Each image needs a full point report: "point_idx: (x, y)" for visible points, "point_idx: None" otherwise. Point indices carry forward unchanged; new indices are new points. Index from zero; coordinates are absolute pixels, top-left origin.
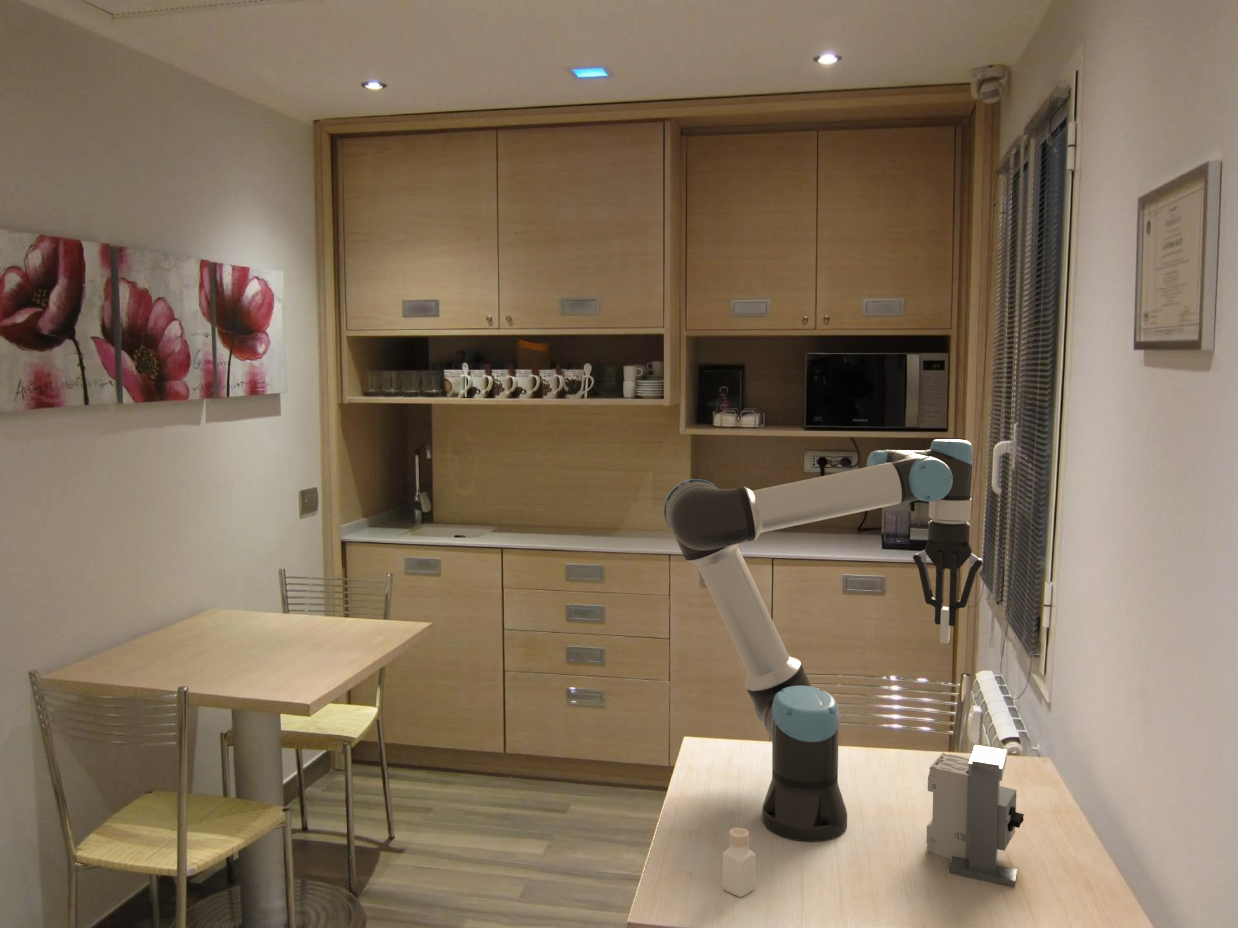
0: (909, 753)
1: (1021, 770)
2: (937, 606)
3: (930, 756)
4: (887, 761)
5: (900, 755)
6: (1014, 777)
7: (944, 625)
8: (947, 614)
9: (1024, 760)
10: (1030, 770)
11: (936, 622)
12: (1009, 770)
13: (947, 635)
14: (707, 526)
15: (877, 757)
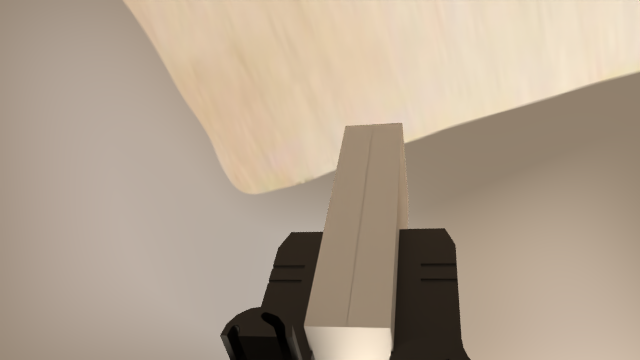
0: (517, 96)
1: (258, 119)
2: (430, 353)
3: (463, 102)
4: (571, 16)
5: (539, 73)
6: (259, 74)
7: (361, 210)
8: (326, 290)
9: (269, 170)
10: (243, 127)
11: (438, 239)
12: (280, 107)
13: (343, 160)
14: None
15: (603, 30)
